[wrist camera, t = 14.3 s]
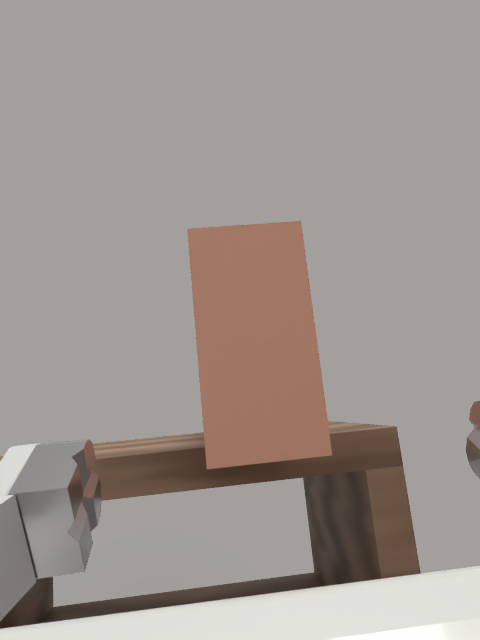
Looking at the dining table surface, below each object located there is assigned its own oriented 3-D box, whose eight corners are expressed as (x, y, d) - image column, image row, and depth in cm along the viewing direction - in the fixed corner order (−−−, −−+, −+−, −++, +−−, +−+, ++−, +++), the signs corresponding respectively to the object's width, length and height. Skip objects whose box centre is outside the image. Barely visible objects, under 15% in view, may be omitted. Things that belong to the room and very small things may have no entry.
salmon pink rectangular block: (210, 433, 37) (202, 338, 39) (257, 428, 38) (247, 335, 39) (206, 469, 14) (187, 229, 16) (332, 455, 14) (300, 220, 16)
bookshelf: (29, 802, 34) (26, 338, 41) (360, 747, 36) (304, 314, 43) (-165, 1217, 17) (-112, 283, 24) (500, 1064, 19) (367, 248, 26)
